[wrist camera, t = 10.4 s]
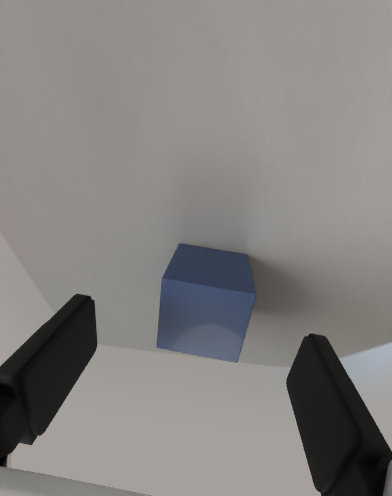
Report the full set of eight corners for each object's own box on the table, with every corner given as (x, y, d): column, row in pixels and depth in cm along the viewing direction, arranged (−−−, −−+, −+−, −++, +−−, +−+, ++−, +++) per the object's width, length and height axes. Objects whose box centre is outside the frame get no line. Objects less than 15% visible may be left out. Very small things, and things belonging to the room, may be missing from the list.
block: (247, 254, 14) (256, 294, 10) (234, 310, 16) (237, 363, 12) (178, 243, 15) (161, 278, 10) (173, 299, 16) (156, 347, 12)
